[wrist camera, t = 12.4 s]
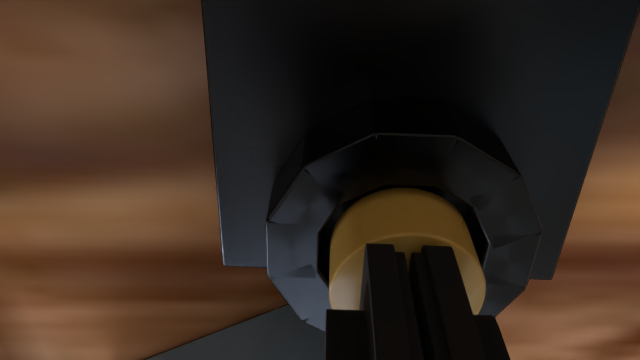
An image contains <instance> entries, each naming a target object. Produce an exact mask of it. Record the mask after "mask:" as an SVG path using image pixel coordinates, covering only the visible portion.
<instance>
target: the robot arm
mask: <svg viewBox="0 0 640 360" xmlns="http://www.w3.org/2000/svg"><path fill="white" fill-rule="evenodd" d="M324 360H510V357H509V354H508V352H507V349H506V346H505V343H504V340H503V338H502V335H501V332H500V329H499V326H498V324H497V322H496V320H495V318H494V317H493V316H492V315H473V312H472V309H471V306H470V302H469V299H468V296H467V293H466V289H465V286H464V283H463V280H462V276H461V273H460V270H459V267H458V263H457V260H456V257H455V254H454V251H453V248H452V247H451V246H429V245H423V246H422V248H421V252H412V254H411V258H410V265H409V272H408V269H407V263H406V258H405V253H404V252H395V248H394V245H393V244H374V243H366V244H365V251H364V263H363V274H362V285H361V296H360V307H359V310H338V309H326V322H325V345H324Z"/></svg>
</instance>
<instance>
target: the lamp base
mask: <svg viewBox="0 0 640 360" xmlns="http://www.w3.org/2000/svg"><path fill="white" fill-rule="evenodd" d="M201 6H202V19H203V31H204V43H205V55H206V67H207V79H208V91H209V103H210V115H211V127H212V139H213V151H214V163H215V175H216V187H217V200H218V212H219V224H220V236H221V248H222V260H223V265H224V266H233V267H256V268H267V276H268V277H269V279H270V281H271V282H272V283H273V284H274V286H275V287H276V288H277V290H278V291H279V292H280V294H281V295H282V296H283V298H284V299H285V300H286V302H287V303H288V304H289V306H290V307H291V308H292V310H293V311H294V312H295V314H296V315H297V316H298V318H299V319H300V320H301V321H303V322H304V323H305V324H308V325H310V326H312V327H314V328H316V329H318V330H320V331H323V332H325V322H326V309H332V308H331V305H330V300H329V270H330V241H331V235H332V232H333V229H334V227H335V225H336V222H337V221H338V219H339V218H340V216H341V215H342V214H343V213H344V212H345V211H346V210H347V208H349V207H350V206H351V205H352V204H353V203H355V202H356V201H358V200H359V199H361V198H363V197H365V196H367V195H369V194H371V193H374V192H377V191H380V190H384V189H389V188H397V187H408V188H417V189H422V190H426V191H429V192H432V193H434V194H436V195H438V196H440V197H442V198H444V199H445V200H447V201H448V202H450V203H451V204H452V205H453V206H454V207H455V208H456V209H457V210H458V211H459V212H460V214H461V215H462V217H463V219H464V220H465V222H466V225H467V228H468V230H469V233H470V236H471V239H472V242H473V245H474V248H475V250H476V253H477V256H478V259H479V262H480V265H481V268H482V270H483V273H484V277H485V282H486V292H485V298H484V302H483V305H482V307H481V309H480V311H479V313H478V315H492V316H493V317H494V318H495V317H496V316H497V315H498V314H499V313H500V312H501V311H502V310H503V309H504V308H506V307H507V306H508V305H509V304H510V303H511V302H512V301H513V300H514V299H515V298H517V297H518V296H519V295H520V294H521V293H522V292H523V291H524V290H525V287H526V286H527V284H528V281H529V279H538V280H551V279H552V277H553V274H554V271H555V268H556V265H557V262H558V259H559V256H560V253H561V250H562V247H563V244H564V240H565V237H566V234H567V231H568V228H569V225H570V222H571V219H572V216H573V213H574V210H575V207H576V204H577V200H578V197H579V194H580V191H581V188H582V185H583V182H584V179H585V176H586V173H587V170H588V167H589V164H590V160H591V157H592V154H593V151H594V148H595V145H596V142H597V139H598V136H599V133H600V130H601V127H602V124H603V120H604V117H605V114H606V111H607V108H608V105H609V102H610V99H611V96H612V93H613V90H614V87H615V84H616V80H617V77H618V74H619V71H620V68H621V65H622V62H623V59H624V56H625V53H626V50H627V47H628V44H629V40H630V37H631V34H632V31H633V28H634V25H635V22H636V19H637V16H638V13H639V10H640V0H201Z"/></svg>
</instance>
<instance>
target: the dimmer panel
mask: <svg viewBox="0 0 640 360" xmlns="http://www.w3.org/2000/svg"><path fill="white" fill-rule="evenodd" d="M324 345H325V332H323V331H320V330H318V329H316V328H314V327H312V326H310V325H308V324H305V323H304V322H303V321H301V320H300V319H299V318H298V316H297V315H296V314H295V312H294V311H293V310H292V308H291V307H290V306H289V304H288V305H286V306H283V307H281V308H278V309H275V310H273V311H270V312H268V313H265V314H263V315H260V316H257V317H255V318H252V319H250V320H247V321H244V322H242V323H239V324H237V325H234V326H231V327H229V328H226V329H224V330H221V331H218V332H216V333H213V334H211V335H208V336H205V337H203V338H200V339H198V340H195V341H193V342H190V343H187V344H185V345H182V346H180V347H177V348H174V349H172V350H169V351H167V352H164V353H161V354H159V355H156V356H154V357H151V358H148V359H146V360H324Z"/></svg>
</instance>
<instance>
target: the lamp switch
mask: <svg viewBox="0 0 640 360" xmlns="http://www.w3.org/2000/svg"><path fill="white" fill-rule="evenodd" d="M366 243H374V244H393V245H394V248H395V252H404V253H405V258H406V263H407V269H408V272H409V265H410V258H411V254H412V252H421V248H422V246H423V245H429V246H451V247H452V248H453V251H454V254H455V257H456V260H457V263H458V267H459V270H460V273H461V276H462V280H463V283H464V286H465V289H466V293H467V296H468V299H469V302H470V306H471V309H472V312H473V315H478V313H479V311H480V309H481V307H482V305H483V302H484V298H485V292H486V282H485V277H484V273H483V270H482V268H481V265H480V262H479V259H478V256H477V253H476V250H475V248H474V245H473V242H472V239H471V236H470V233H469V230H468V228H467V225H466V222H465V220H464V219H463V217H462V215H461V214H460V212H459V211H458V210H457V209H456V208H455V207H454V206H453V205H452V204H451V203H450V202H448V201H447V200H445V199H444V198H442V197H440V196H438V195H436V194H434V193H432V192H429V191H426V190H422V189H417V188H408V187H397V188H389V189H384V190H380V191H377V192H374V193H371V194H369V195H367V196H365V197H363V198H361V199H359V200H358V201H356V202H355V203H353V204H352V205H351V206H350V207H349V208H347V210H346V211H345V212H344V213H343V214H342V215H341V216H340V218H339V219H338V221H337V222H336V225H335V227H334V229H333V232H332V235H331V241H330V270H329V300H330V305H331V308H332V309H338V310H359V307H360V296H361V285H362V274H363V263H364V251H365V244H366Z"/></svg>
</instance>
